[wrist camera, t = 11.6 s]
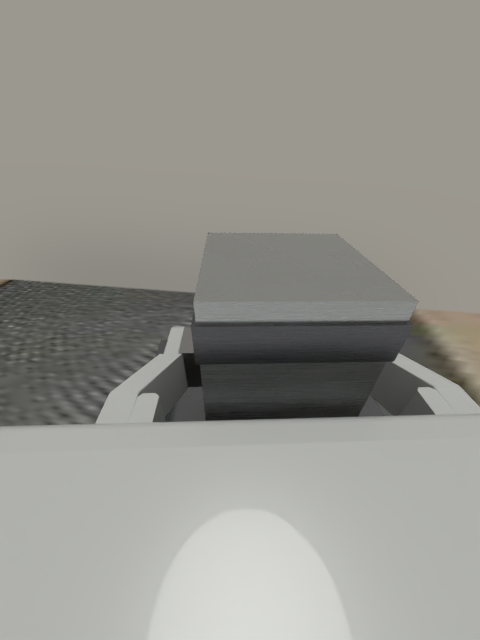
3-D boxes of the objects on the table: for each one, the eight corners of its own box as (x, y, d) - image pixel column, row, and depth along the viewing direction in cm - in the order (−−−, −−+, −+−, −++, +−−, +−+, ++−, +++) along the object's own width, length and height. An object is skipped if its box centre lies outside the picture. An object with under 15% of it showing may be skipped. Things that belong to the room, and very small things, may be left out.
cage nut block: (300, 384, 15) (338, 233, 10) (329, 479, 11) (425, 303, 5) (214, 385, 15) (205, 231, 9) (209, 484, 10) (188, 304, 5)
